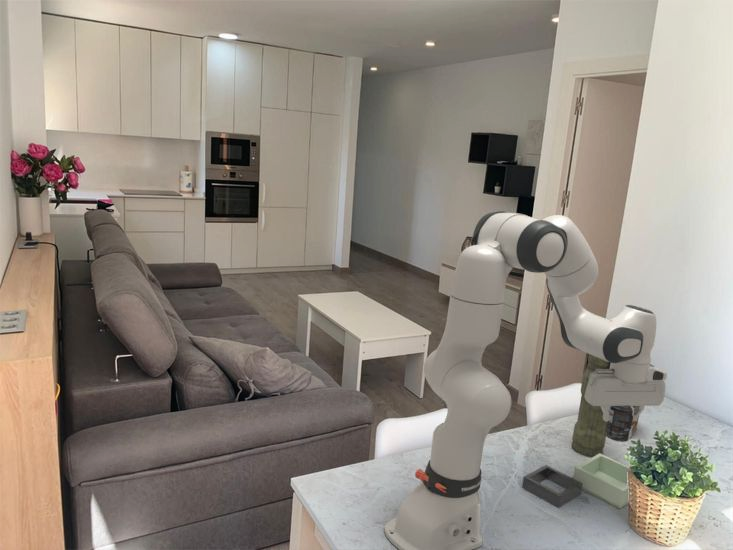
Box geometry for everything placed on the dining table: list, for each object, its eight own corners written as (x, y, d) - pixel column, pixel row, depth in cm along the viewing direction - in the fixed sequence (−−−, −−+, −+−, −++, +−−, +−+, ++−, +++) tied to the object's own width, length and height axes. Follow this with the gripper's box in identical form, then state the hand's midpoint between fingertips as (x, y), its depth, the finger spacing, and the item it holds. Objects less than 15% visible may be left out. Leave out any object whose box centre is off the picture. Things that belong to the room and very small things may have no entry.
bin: (620, 509, 141) (623, 490, 140) (572, 484, 151) (574, 467, 150) (643, 492, 150) (647, 475, 149) (596, 469, 159) (599, 453, 158)
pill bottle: (632, 438, 147) (640, 397, 145) (623, 445, 143) (630, 402, 141) (610, 429, 152) (617, 389, 149) (599, 435, 148) (606, 394, 145)
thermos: (591, 462, 163) (612, 345, 156) (561, 442, 174) (579, 331, 166) (613, 457, 167) (634, 342, 160) (583, 438, 177) (601, 330, 170)
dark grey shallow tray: (558, 507, 140) (560, 496, 139) (522, 487, 147) (523, 476, 147) (580, 493, 147) (582, 483, 146) (544, 475, 154) (546, 464, 154)
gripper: (598, 373, 139) (589, 426, 141) (673, 374, 142) (662, 425, 145) (584, 364, 145) (576, 415, 147) (656, 364, 149) (646, 414, 151)
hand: (619, 420), depth 146 cm, fingers closed on pill bottle, 6 cm apart
